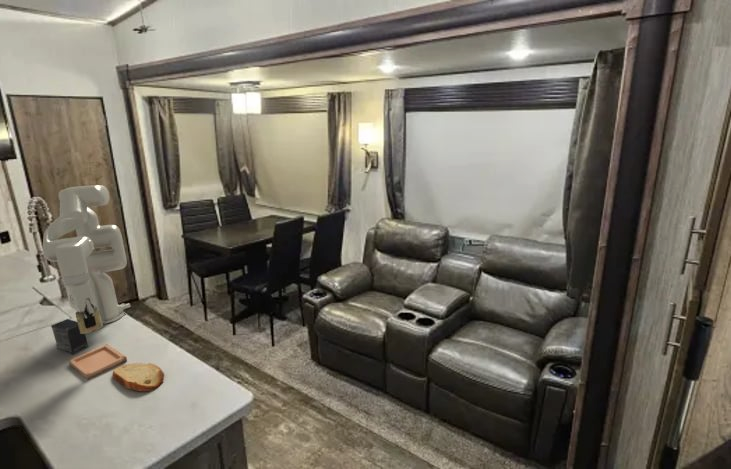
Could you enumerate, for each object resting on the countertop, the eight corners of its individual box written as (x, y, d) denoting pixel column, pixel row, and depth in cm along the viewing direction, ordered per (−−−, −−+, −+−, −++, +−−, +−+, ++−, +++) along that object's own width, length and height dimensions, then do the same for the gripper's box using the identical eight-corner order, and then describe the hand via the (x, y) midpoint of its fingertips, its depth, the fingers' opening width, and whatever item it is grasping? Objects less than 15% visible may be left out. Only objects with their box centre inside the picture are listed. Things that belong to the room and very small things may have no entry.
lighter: (100, 324, 146) (94, 299, 144) (105, 327, 144) (98, 302, 141) (78, 332, 141) (71, 307, 138) (82, 335, 139) (76, 310, 136)
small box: (90, 346, 158) (83, 322, 155) (72, 354, 152) (66, 330, 149) (74, 340, 162) (67, 317, 159) (56, 349, 156) (49, 325, 153)
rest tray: (107, 347, 156) (106, 343, 155) (127, 360, 147) (126, 356, 146) (69, 364, 146) (68, 360, 145) (87, 379, 137) (86, 375, 136)
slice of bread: (114, 370, 142) (112, 361, 141) (169, 360, 147) (167, 351, 146) (99, 403, 125) (96, 393, 124) (161, 390, 131) (159, 380, 129)
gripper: (54, 276, 138) (67, 323, 143) (73, 286, 129) (86, 336, 134) (79, 270, 144) (90, 315, 149) (98, 279, 135) (110, 326, 140)
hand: (88, 324), depth 142 cm, fingers closed on lighter, 3 cm apart
